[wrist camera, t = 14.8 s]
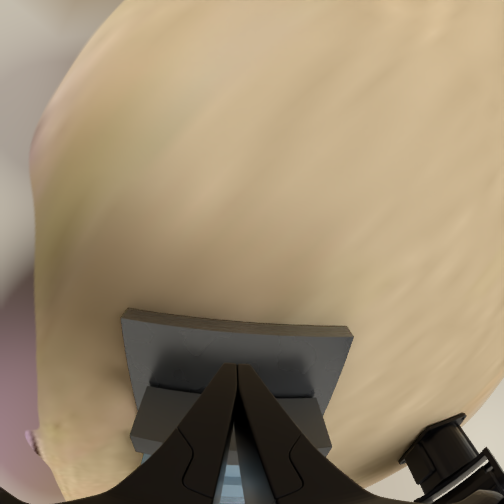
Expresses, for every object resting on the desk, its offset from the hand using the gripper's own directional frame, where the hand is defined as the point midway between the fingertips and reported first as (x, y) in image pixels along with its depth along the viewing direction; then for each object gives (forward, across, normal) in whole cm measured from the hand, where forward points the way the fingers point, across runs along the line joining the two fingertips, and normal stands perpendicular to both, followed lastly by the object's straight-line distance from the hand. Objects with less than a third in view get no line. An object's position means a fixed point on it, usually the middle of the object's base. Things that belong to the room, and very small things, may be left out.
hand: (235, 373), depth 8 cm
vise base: (+4, 0, +10) cm, 11 cm away
